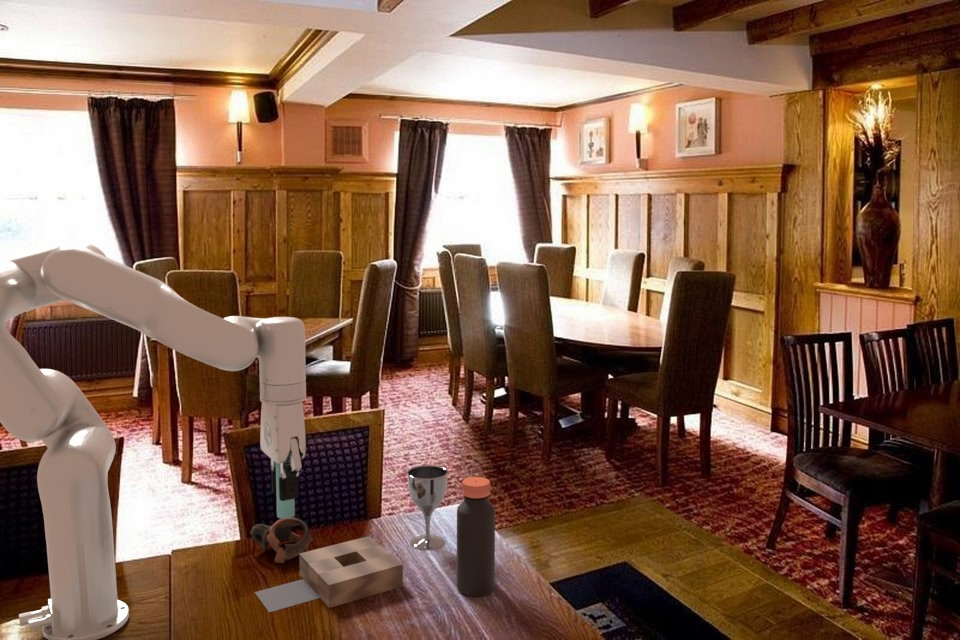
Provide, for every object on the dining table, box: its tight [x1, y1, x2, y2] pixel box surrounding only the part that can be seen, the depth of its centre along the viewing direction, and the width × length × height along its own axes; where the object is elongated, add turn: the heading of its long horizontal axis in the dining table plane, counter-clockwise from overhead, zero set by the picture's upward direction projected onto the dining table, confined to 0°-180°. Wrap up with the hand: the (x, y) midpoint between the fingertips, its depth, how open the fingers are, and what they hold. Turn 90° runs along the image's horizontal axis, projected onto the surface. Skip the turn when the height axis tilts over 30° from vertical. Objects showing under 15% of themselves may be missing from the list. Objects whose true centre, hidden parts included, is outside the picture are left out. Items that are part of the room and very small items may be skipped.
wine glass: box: [407, 464, 448, 551], centre depth 157 cm, size 8×8×15 cm
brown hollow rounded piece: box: [250, 517, 313, 564], centre depth 152 cm, size 12×10×8 cm
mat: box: [254, 578, 321, 613], centre depth 137 cm, size 10×8×1 cm
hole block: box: [298, 535, 404, 609], centre depth 142 cm, size 14×14×4 cm
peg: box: [275, 456, 296, 519], centre depth 134 cm, size 3×3×12 cm
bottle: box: [456, 476, 496, 597], centre depth 139 cm, size 7×7×20 cm
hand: (285, 494), depth 134 cm, fingers closed on peg, 3 cm apart
